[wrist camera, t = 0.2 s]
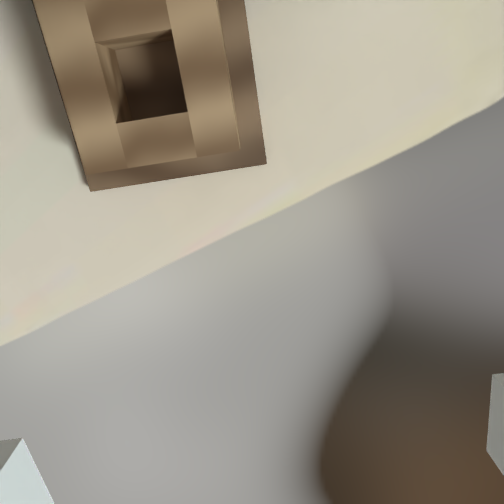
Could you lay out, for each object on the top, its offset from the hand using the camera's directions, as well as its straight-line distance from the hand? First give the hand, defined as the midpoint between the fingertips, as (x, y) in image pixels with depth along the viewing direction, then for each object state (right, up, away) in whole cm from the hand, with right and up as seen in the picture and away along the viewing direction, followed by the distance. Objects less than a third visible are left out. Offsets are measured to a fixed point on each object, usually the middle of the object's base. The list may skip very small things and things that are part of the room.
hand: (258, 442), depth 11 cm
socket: (-8, +20, +22) cm, 31 cm away
